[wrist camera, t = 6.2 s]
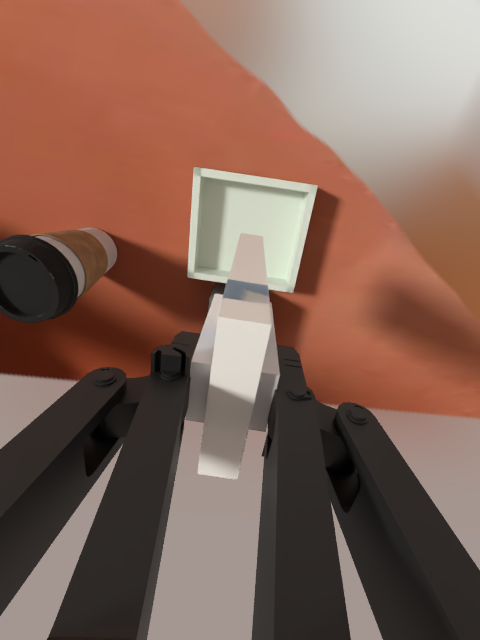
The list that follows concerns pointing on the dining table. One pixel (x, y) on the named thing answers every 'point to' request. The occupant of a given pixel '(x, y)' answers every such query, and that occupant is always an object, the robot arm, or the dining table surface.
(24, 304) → the coffee cup
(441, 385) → the dining table surface
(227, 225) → the tray
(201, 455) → the white striped flat box
